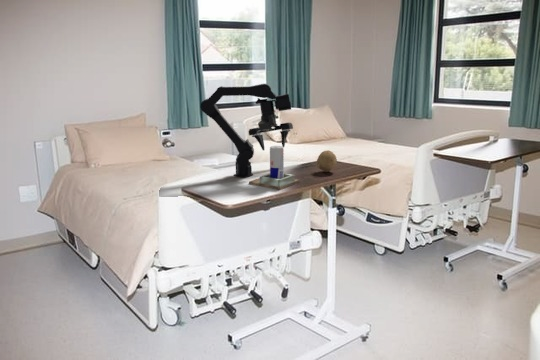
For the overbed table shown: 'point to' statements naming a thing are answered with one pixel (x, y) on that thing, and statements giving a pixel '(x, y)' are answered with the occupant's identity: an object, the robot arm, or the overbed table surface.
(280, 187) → the socket dock
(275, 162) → the beverage can
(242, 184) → the overbed table surface
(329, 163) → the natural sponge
